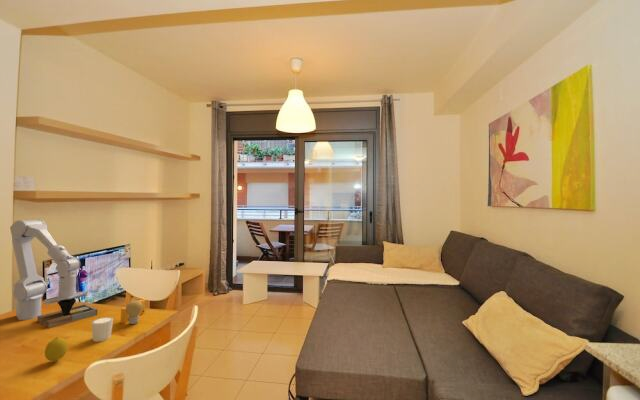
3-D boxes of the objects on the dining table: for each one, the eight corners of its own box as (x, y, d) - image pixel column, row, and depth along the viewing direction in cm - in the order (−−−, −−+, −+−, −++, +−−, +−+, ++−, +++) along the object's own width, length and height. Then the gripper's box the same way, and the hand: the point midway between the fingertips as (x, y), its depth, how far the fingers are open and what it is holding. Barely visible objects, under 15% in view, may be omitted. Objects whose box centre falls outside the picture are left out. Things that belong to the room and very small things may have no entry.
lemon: (53, 357, 98) (54, 333, 98) (71, 357, 98) (72, 333, 98) (39, 366, 92) (40, 341, 92) (57, 366, 93) (58, 341, 93)
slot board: (37, 322, 123) (37, 316, 123) (84, 310, 138) (84, 304, 138) (49, 330, 117) (49, 322, 117) (97, 316, 132) (97, 310, 132)
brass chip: (66, 316, 128) (66, 311, 128) (76, 314, 132) (76, 308, 132) (70, 318, 127) (70, 313, 127) (80, 316, 130) (80, 310, 130)
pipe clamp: (136, 312, 138) (137, 299, 138) (145, 313, 138) (145, 300, 138) (116, 322, 126) (117, 308, 126) (125, 323, 126) (126, 309, 126)
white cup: (116, 336, 114) (117, 318, 114) (98, 343, 108) (99, 325, 108) (104, 332, 116) (105, 315, 116) (86, 340, 110) (87, 322, 110)
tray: (59, 315, 129) (60, 310, 129) (84, 309, 138) (85, 304, 138) (71, 321, 124) (71, 315, 124) (97, 314, 132) (97, 309, 132)
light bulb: (143, 319, 130) (144, 297, 130) (139, 325, 124) (140, 302, 124) (127, 321, 128) (128, 298, 128) (122, 327, 122) (123, 303, 122)
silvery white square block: (76, 314, 132) (76, 308, 132) (85, 311, 135) (85, 306, 135) (80, 316, 130) (80, 310, 130) (89, 313, 133) (89, 308, 133)
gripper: (49, 291, 119) (48, 324, 118) (91, 283, 131) (89, 313, 131) (43, 288, 122) (41, 320, 122) (83, 280, 135) (82, 309, 134)
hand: (65, 316), depth 127 cm, fingers closed
